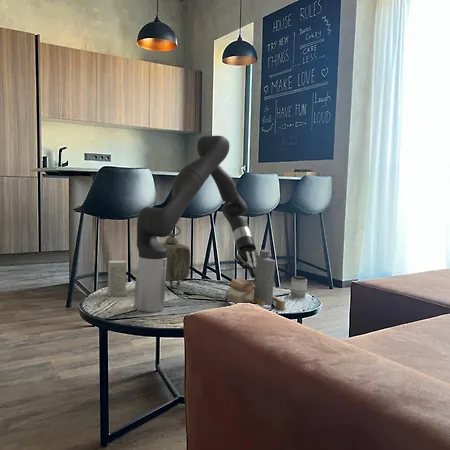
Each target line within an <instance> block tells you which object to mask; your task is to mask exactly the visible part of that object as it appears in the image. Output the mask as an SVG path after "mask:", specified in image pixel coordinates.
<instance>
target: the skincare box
mask: <svg viewBox="0 0 450 450" xmlns="http://www.w3.org/2000/svg"><path fill="white" fill-rule="evenodd" d="M107 264H108V266H107V268H108V270H107V296H109V297H112V296H115V297H117V296H120V297H121V296H126V292H127V291H126V288H127V287H126V286H127V284H126V283H127V281H126V280H127V261H126V260H108V263H107Z"/></svg>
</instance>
